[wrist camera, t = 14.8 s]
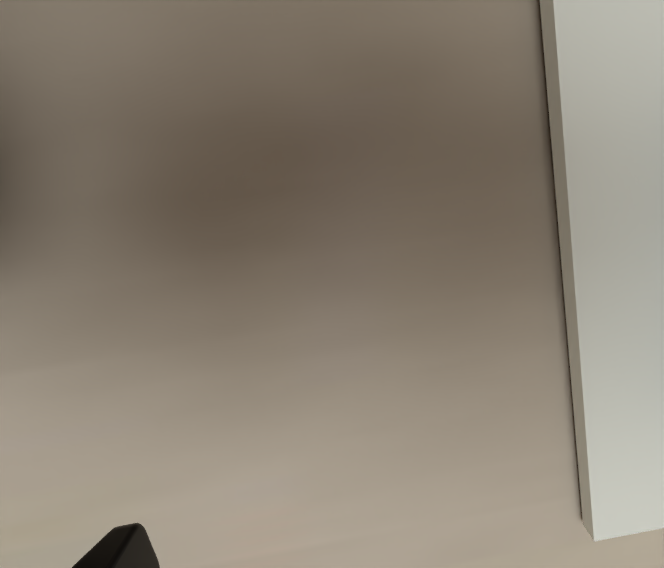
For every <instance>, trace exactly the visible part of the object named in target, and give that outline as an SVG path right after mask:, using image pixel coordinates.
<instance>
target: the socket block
mask: <svg viewBox="0 0 664 568" xmlns="http://www.w3.org/2000/svg"><path fill="white" fill-rule="evenodd" d="M540 10H541V22H542V34H543V46H544V58H545V70H546V82H547V94H548V107H549V119H550V131H551V143H552V155H553V167H554V179H555V191H556V203H557V215H558V228H559V240H560V252H561V264H562V276H563V288H564V300H565V312H566V324H567V336H568V349H569V361H570V373H571V385H572V397H573V409H574V421H575V433H576V445H577V457H578V470H579V482H580V494H581V506H582V518H583V525H584V526H585V528H586V529H587V531H588V533H589V534H590V536H591V537H592V539H593V541H599V540H604V539H609V538H615V537H620V536H625V535H630V534H635V533H640V532H646V531H651V530H656V529H661V528H664V0H540Z"/></svg>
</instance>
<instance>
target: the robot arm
mask: <svg viewBox="0 0 664 568" xmlns="http://www.w3.org/2000/svg"><path fill="white" fill-rule="evenodd" d="M72 568H160V567H159V562H158V559H157V557H156V554H155V552H154V550H153V547H152V545H151V542H150V540H149V537H148V535H147V532H146V530H145V528H144V527H143V526H142V525H141V524H139V523H133V524H128V525H123V526H118V527H115V528H113V529H112V530H111V531H110V532H109V533H108V534H107V535H106V536H105V537H103V538H102V539H101V540H100V541H99V542H98V543H97V544H96V545H95V546H94V547H93V548H92V549H91V550H90V551H89V552H88V553H87V554H86V555H84V556H83V557H82V558H81V559H80V560H79V561H78V562H77V563H76V564H75V565H74V566H73V567H72Z"/></svg>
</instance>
